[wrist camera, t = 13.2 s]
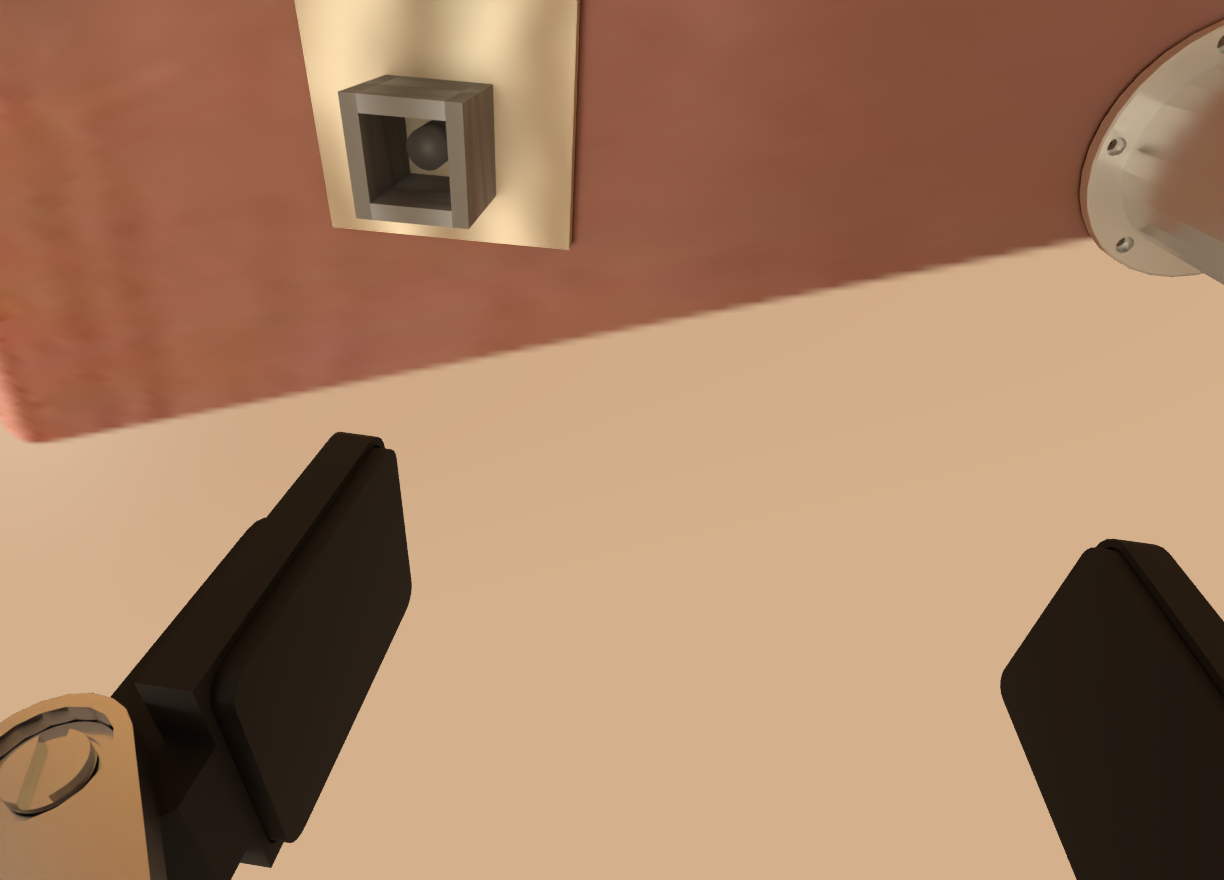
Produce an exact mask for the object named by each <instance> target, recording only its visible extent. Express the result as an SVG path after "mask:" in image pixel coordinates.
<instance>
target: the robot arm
mask: <svg viewBox="0 0 1224 880" xmlns="http://www.w3.org/2000/svg"><path fill="white" fill-rule="evenodd" d="M1220 39H1221V40H1220ZM1219 40H1220V42H1219V43H1218V41H1219ZM1112 140H1113V141H1112ZM1111 141H1112V144H1111V145H1110V146H1109V147H1108V145H1109V143H1110V142H1111ZM1079 195H1080V204H1081V213H1082V217H1083V220H1084V222H1085V225H1086V228H1087V230H1088V233H1089V234H1090V236H1091V237H1092V239H1093V240H1094V241H1095V243H1096V244H1097V245H1098V247H1099V248H1100V249H1101V250H1103V251H1104V252H1105V253H1107V254H1108V255H1109V256H1110V257H1112V258H1113V259H1114V260H1116V261H1118V262H1120V263H1121V264H1123V265H1125V266H1126V267H1128V268H1130V269H1133V270H1136V271H1139V272H1143V273H1146V274H1149V275H1159V276H1169V277H1175V276H1188V275H1197V274H1201V273H1205V274H1206V275H1208V276H1210V277H1212V278H1213V279H1215V280H1217V281H1218V282H1220V283H1222V284H1224V20H1221V21H1219V22H1217V23H1215V24H1213V25H1211V26H1209V27H1207V28H1205V29H1203V30H1200V31H1198V32H1196V33H1194V34H1192V35H1191V36H1189V37H1188V38H1186V39H1185V40H1183V41H1182V42H1180V43H1179V44H1177V45H1176V46H1174V47H1173V48H1171V49H1170V50H1168V51H1167V52H1165V53H1164V54H1163V55H1162V56H1160V57H1159V58H1158V59H1157V60H1156V61H1155V62H1153V63H1152V64H1151V65H1150V66H1149V67H1148V68H1146V69H1145V70H1144V71H1143V72H1142V73H1141V74H1140V75H1139V76H1138V77H1137V78H1136V79H1135V80H1134V81H1133V82H1132V83H1131V85H1130V86H1129V87H1128V88H1127V89H1126V90H1125V91H1124V92H1123V93H1122V95H1121V96H1120V97H1119V98H1118V99H1117V101H1116V102H1115V104H1114V105H1113V107H1112V108H1111V110H1110V111H1109V113H1108V114H1107V115H1106V117H1105V118H1104V120H1103V121H1102V123H1101V125H1100V127H1099V129H1098V131H1097V133H1096V135H1095V137H1094V139H1093V141H1092V143H1091V145H1090V147H1089V150H1088V153H1087V157H1086V160H1085V163H1084V167H1083V170H1082V175H1081V185H1080V194H1079ZM403 517H404V516H403V508H402V500H401V492H400V483H399V475H398V466H397V458H396V454H395V452H394V451H393V450H391V449H385V447H384V443H383V441H382V439H381V438H379V437H373V436H366V435H359V434H352V433H345V432H337V433H335V434H334V435H333V436H332V437H331V438H330V439H329V440H328V442H327V443H326V444H325V445H324V447H323V448H322V449H321V450H320V451H319V453H318V454H317V455H316V457H315V458H314V459H313V460H312V461H311V463H310V464H309V465H308V466H307V468H306V469H305V470H304V471H303V473H302V474H301V475H300V476H299V478H298V479H297V480H296V481H295V483H294V484H293V485H292V486H291V488H290V489H289V490H288V491H287V492H286V494H285V495H284V496H283V498H282V499H281V500H280V501H279V503H278V504H277V505H276V506H275V508H274V509H273V510H272V511H271V512H270V514H269V515H268V516H267V517H266V518H263V519H261V520H258V521H257V522H255V523H254V524H253V525H252V526H251V527H250V528H249V529H248V530H247V531H246V532H245V533H244V535H243V536H242V537H241V538H240V539H239V541H238V542H237V543H236V544H235V546H234V547H233V548H232V549H231V550H230V552H229V553H228V554H227V556H226V557H225V558H224V559H223V560H222V561H221V563H220V564H219V565H218V566H217V568H216V569H215V570H214V571H213V572H212V574H211V575H210V576H209V577H208V579H207V580H206V581H205V582H204V584H203V585H202V586H201V587H200V588H199V589H198V591H197V592H196V593H195V594H194V596H193V597H192V598H191V599H190V600H189V602H188V603H187V604H186V605H185V607H184V608H183V609H182V611H180V613H179V614H178V615H177V616H176V618H175V619H174V620H173V621H172V622H171V624H170V625H169V626H168V627H167V629H166V630H165V631H164V632H163V633H162V635H161V636H160V637H159V638H158V640H157V641H156V642H155V643H154V644H153V646H152V647H151V648H150V649H149V651H148V652H147V653H146V654H145V656H144V657H143V658H142V659H141V660H140V662H139V663H138V664H137V665H136V666H135V668H134V669H133V670H132V671H131V673H130V674H129V675H128V676H127V677H126V679H125V680H124V681H123V682H122V684H121V685H120V686H119V687H118V688H117V690H116V691H115V692H114V693H113V695H112V696H111V697H107V696H103V695H99V694H95V693H83V694H67V695H63V696H60V697H56V698H52V699H48V700H44V701H41V702H39V703H36V704H34V705H32V706H30V707H28V708H26V709H23V710H21V711H19V712H17V713H15V714H13V715H11V716H10V717H8V718H7V719H5V720H4V721H2V722H1V723H0V880H231V878H232V876H233V874H234V873H235V871H236V869H237V867H238V865H239V863H245V864H252V865H258V866H263V867H269V868H271V867H272V865H273V863H274V861H275V859H276V857H277V854H278V853H279V851H280V848H281V846H282V844H283V842H287V843H292V842H294V841H295V840H297V838H298V837H299V836H300V834H301V833H302V831H303V829H304V827H305V825H306V823H307V821H308V819H309V817H310V815H311V813H312V811H313V808H314V806H315V804H316V802H317V800H318V798H319V796H320V793H321V791H322V789H323V787H324V785H325V783H326V781H327V778H328V776H329V774H330V772H331V770H332V768H333V766H334V764H335V761H336V759H337V757H338V755H339V753H340V751H341V748H342V746H343V744H344V742H345V740H346V738H347V736H348V734H349V731H350V729H351V727H352V725H353V723H354V721H355V719H356V716H357V714H358V712H359V710H360V708H361V706H362V704H363V701H364V699H365V697H366V695H367V693H368V691H369V689H370V687H371V684H372V682H373V680H374V678H375V676H376V674H377V672H378V669H379V667H380V665H381V663H382V661H383V659H384V657H385V654H386V652H387V650H388V648H389V646H390V644H391V642H392V639H393V637H394V635H395V633H396V631H397V629H398V627H399V624H400V622H401V620H402V618H403V616H404V614H405V611H406V609H407V607H408V604H409V600H410V596H411V588H412V587H411V586H412V585H411V574H410V566H409V558H408V550H407V542H406V534H405V525H404V518H403ZM1000 688H1001V694H1002V698H1003V700H1004V703H1005V706H1006V708H1007V710H1008V713H1009V715H1010V718H1011V720H1012V723H1013V725H1014V728H1015V730H1016V732H1017V735H1018V737H1019V740H1020V742H1021V744H1022V747H1023V750H1024V752H1025V754H1026V757H1027V759H1028V762H1029V764H1030V766H1031V769H1032V771H1033V774H1034V776H1035V779H1036V781H1037V784H1038V786H1039V789H1040V791H1041V794H1042V796H1043V798H1044V801H1045V803H1046V806H1047V808H1048V811H1049V813H1050V816H1051V818H1052V820H1053V823H1054V825H1055V828H1056V830H1057V833H1058V835H1059V838H1060V840H1061V843H1062V845H1063V847H1064V850H1065V852H1066V854H1067V857H1068V860H1069V862H1070V864H1071V867H1072V869H1073V872H1074V874H1075V877H1076V879H1077V880H1224V621H1223V620H1222V619H1221V618H1220V616H1219V615H1218V614H1217V613H1216V611H1215V610H1214V609H1213V608H1212V606H1211V605H1210V604H1209V603H1208V601H1207V600H1206V599H1205V598H1204V596H1203V595H1202V594H1201V593H1200V591H1199V590H1198V589H1197V588H1196V586H1195V585H1194V584H1193V582H1192V581H1191V580H1190V579H1189V577H1188V576H1187V575H1186V574H1185V573H1184V571H1183V570H1182V569H1181V567H1180V566H1179V565H1178V564H1177V563H1176V561H1175V560H1174V559H1173V557H1172V556H1171V555H1170V554H1169V553H1168V552H1167V551H1166V550H1165V549H1164V548H1162V547H1160V546H1157V545H1153V544H1146V543H1140V542H1132V541H1125V540H1118V539H1107V540H1105V541H1102V542H1100V543H1099V544H1098V545H1097V547H1095V548H1090V549H1087V550H1086V551H1085V552H1084V553H1083V554H1082V555H1081V557H1080V558H1079V560H1078V562H1077V563H1076V565H1075V566H1074V567H1073V569H1072V570H1071V572H1070V573H1069V575H1068V576H1067V578H1066V579H1065V581H1064V582H1063V583H1062V585H1061V587H1060V588H1059V589H1058V591H1057V592H1056V594H1055V595H1054V597H1053V598H1052V600H1051V601H1050V603H1049V604H1048V606H1047V607H1046V609H1045V610H1044V612H1043V613H1042V615H1041V616H1040V618H1039V619H1038V620H1037V622H1036V624H1035V625H1034V626H1033V628H1032V629H1031V631H1030V632H1029V634H1028V635H1027V637H1026V638H1025V640H1024V641H1023V643H1022V644H1021V646H1020V647H1019V648H1018V650H1017V651H1016V653H1015V654H1014V656H1013V657H1012V659H1011V660H1010V662H1009V664H1008V665H1007V666H1006V668H1005V669H1004V671H1003V673H1002V677H1001V685H1000Z"/></svg>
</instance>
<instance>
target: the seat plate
mask: <svg viewBox="0 0 1224 880" xmlns="http://www.w3.org/2000/svg"><path fill="white" fill-rule="evenodd" d="M295 6H296V12H297V18H298V24H299V30H300V36H301V42H302V48H303V54H304V60H305V65H306V71H307V77H308V83H309V89H310V95H311V101H312V107H313V113H314V119H315V125H316V131H317V137H318V143H319V149H320V155H321V161H322V167H323V173H324V179H325V185H326V191H327V196H328V202H329V208H330V214H331V220H332V226H333V227H336V228H346V229H357V230H367V231H378V232H388V233H398V234H409V235H419V236H429V237H440V238H450V239H461V240H471V241H481V242H492V243H502V244H513V245H523V246H533V247H544V248H554V249H564V250H569V249H570V246H571V244H572V220H573V192H574V163H575V135H576V107H577V78H578V50H579V21H580V0H295Z"/></svg>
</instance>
